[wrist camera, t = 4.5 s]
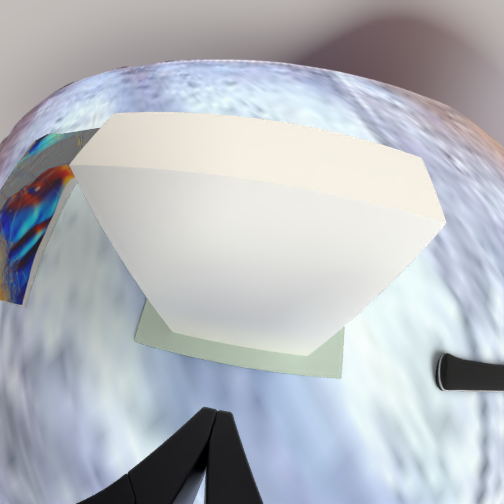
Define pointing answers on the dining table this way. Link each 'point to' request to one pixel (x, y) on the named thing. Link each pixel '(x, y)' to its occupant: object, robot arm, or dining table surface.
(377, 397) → the dining table surface
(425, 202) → the standing glazed tile
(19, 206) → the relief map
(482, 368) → the kitchen cleaver
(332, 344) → the sage rubber mat
